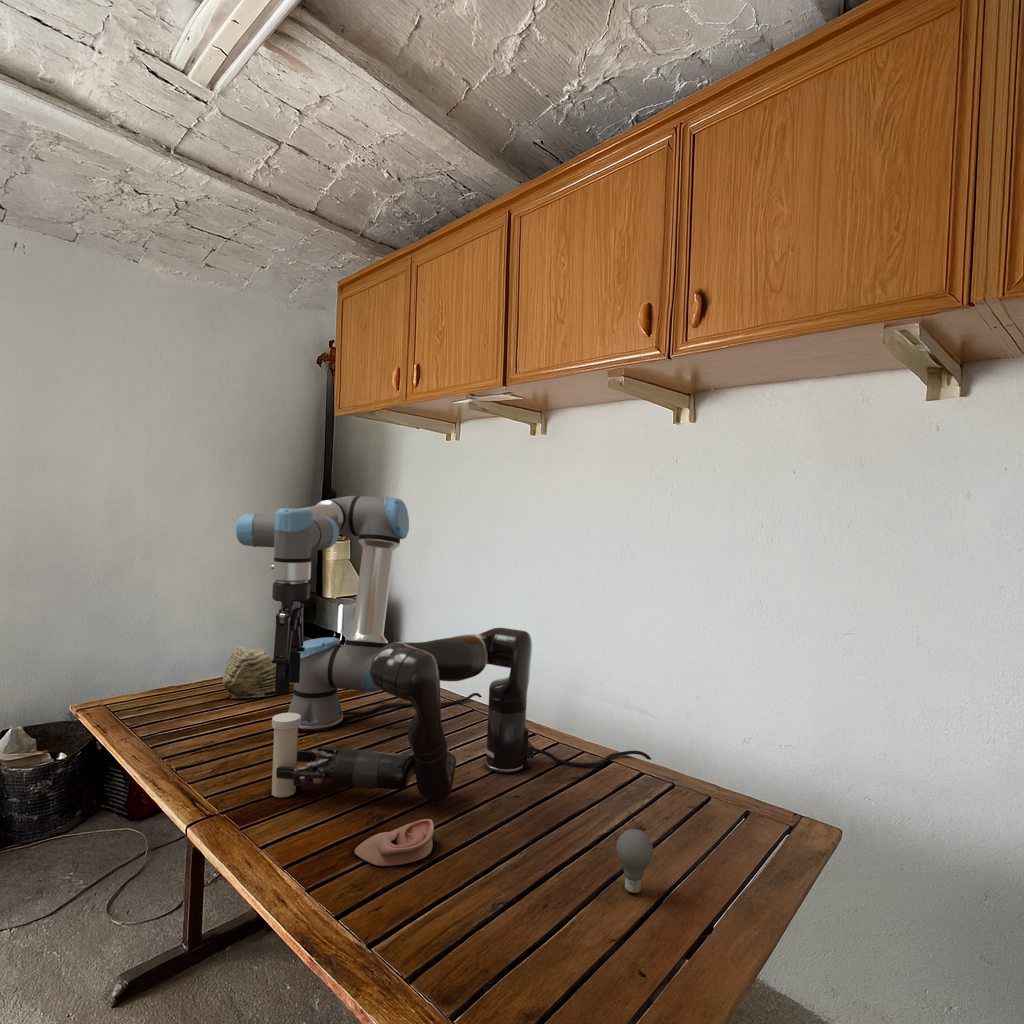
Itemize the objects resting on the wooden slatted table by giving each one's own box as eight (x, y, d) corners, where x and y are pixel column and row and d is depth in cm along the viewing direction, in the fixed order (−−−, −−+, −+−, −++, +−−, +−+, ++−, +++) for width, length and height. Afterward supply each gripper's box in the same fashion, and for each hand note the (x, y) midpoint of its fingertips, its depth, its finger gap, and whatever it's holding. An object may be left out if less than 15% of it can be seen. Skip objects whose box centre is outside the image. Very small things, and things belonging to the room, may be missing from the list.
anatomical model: (347, 838, 110) (374, 807, 122) (346, 860, 111) (373, 828, 122) (419, 850, 108) (440, 817, 119) (418, 873, 108) (439, 838, 119)
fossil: (218, 695, 195) (220, 647, 195) (278, 685, 208) (279, 640, 207) (228, 703, 189) (230, 653, 188) (289, 692, 201) (290, 645, 201)
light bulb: (610, 879, 108) (613, 822, 108) (644, 879, 109) (647, 822, 109) (619, 902, 102) (622, 840, 102) (655, 901, 103) (658, 840, 103)
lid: (266, 724, 135) (266, 716, 135) (291, 718, 139) (292, 710, 139) (280, 732, 131) (280, 724, 131) (305, 725, 135) (306, 717, 135)
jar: (267, 791, 135) (269, 718, 135) (288, 784, 139) (291, 713, 138) (278, 799, 132) (281, 725, 131) (300, 792, 135) (303, 719, 135)
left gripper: (286, 574, 144) (282, 674, 145) (258, 587, 124) (254, 703, 124) (320, 575, 145) (316, 674, 145) (297, 588, 124) (293, 703, 125)
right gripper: (370, 738, 141) (299, 733, 142) (350, 765, 127) (271, 759, 128) (369, 772, 141) (298, 767, 142) (349, 802, 127) (270, 796, 128)
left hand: (287, 687), depth 135 cm, fingers open, 8 cm apart
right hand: (285, 763), depth 135 cm, fingers open, 8 cm apart
